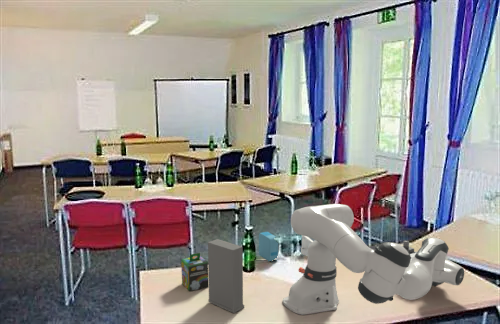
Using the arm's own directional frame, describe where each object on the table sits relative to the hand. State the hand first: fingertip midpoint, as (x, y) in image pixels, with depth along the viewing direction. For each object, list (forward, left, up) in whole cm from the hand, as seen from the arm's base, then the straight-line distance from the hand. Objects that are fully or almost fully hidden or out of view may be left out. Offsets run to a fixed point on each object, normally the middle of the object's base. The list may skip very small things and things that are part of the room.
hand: (404, 253), depth 211 cm
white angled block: (-23, +42, -10) cm, 49 cm away
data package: (-43, +47, -10) cm, 65 cm away
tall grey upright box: (-83, +11, -10) cm, 84 cm away
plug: (0, -1, -7) cm, 7 cm away
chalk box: (-87, +34, -10) cm, 94 cm away
